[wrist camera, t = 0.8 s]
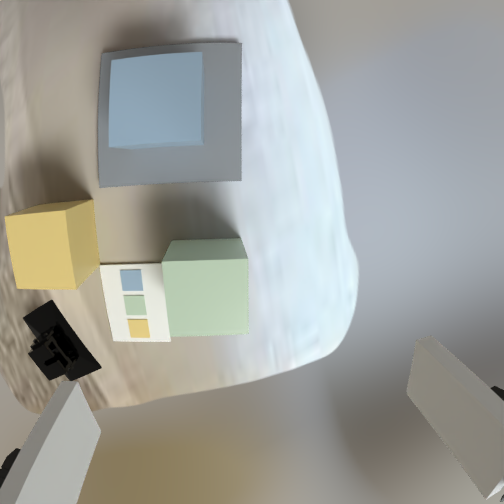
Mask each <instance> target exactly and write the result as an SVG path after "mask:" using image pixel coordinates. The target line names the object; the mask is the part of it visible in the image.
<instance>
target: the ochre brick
mask: <svg viewBox="0 0 504 504" xmlns="http://www.w3.org/2000/svg"><path fill="white" fill-rule="evenodd" d="M5 223H6V231H7V238H8V244H9V250H10V256H11V261H12V266H13V271H14V276H15V280H16V285H17V289H76V290H77V288H78V287H79V286H80V285H81V284H82V283H83V282H84V281H85V280H86V279H87V278H88V277H89V276H90V275H91V274H92V273H93V272H94V271H95V269H96V268H97V267H98V266H99V265H100V259H99V252H98V244H97V235H96V225H95V214H94V202H93V199H91V200H79V201H68V202H58V203H48V204H39V205H36V206H33V207H30V208H27V209H24V210H21V211H19V212H16V213H13V214H10V215H7V216H5Z"/></svg>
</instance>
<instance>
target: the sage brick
mask: <svg viewBox="0 0 504 504" xmlns="http://www.w3.org/2000/svg"><path fill="white" fill-rule="evenodd" d="M162 270H163V281H164V290H165V300H166V308H167V317H168V325H169V332H170V337H174V336H213V335H236V334H249V324H248V257H247V254H246V251H245V248H244V245H243V243H242V240H241V238H230V239H198V240H172V241H171V243H170V245H169V247H168V250H167V252H166V254H165V256H164V258H163V260H162Z"/></svg>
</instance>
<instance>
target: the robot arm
mask: <svg viewBox="0 0 504 504" xmlns="http://www.w3.org/2000/svg"><path fill="white" fill-rule="evenodd" d="M406 393H407V395H408V396H409V397H410V398H411V400H412V401H413V402H414V404H415V405H416V406H417V408H418V409H419V410H420V411H421V413H422V414H423V415H424V417H425V418H426V419H427V421H428V422H429V423H430V424H431V426H432V427H433V428H434V430H435V431H436V432H437V434H438V435H439V436H440V438H441V439H442V440H443V442H444V443H445V444H446V446H447V447H448V448H449V450H450V451H451V452H452V454H453V455H454V456H455V458H456V459H457V461H458V462H459V463H460V465H461V466H462V467H463V469H464V470H465V471H466V473H467V474H468V476H469V477H470V478H471V480H472V481H473V482H474V484H475V485H476V486H477V488H478V489H479V491H480V492H481V494H482V495H483V497H484V498H485V499H488V498H489V497H491V496H492V495H494V494H495V493H497V492H498V491H500V490H501V489H502V488H503V487H504V390H502V389H500V388H498V387H496V386H494V387H492V388H489V387H488V386H487V385H486V384H485V383H484V382H483V381H482V380H481V379H479V378H478V377H477V376H476V375H475V374H474V373H473V372H472V371H471V370H469V369H468V368H467V367H466V366H465V365H464V364H463V363H462V362H461V361H460V360H458V359H457V358H456V357H455V356H454V355H453V354H452V353H450V352H449V351H448V350H447V349H446V348H445V347H444V346H442V345H441V344H440V343H439V342H438V341H437V340H436V339H435V338H433V337H432V336H428V337H425V338H421V339H418V340H416V344H415V350H414V356H413V361H412V367H411V372H410V377H409V382H408V386H407V391H406ZM100 433H101V430H100V428H99V426H98V424H97V422H96V420H95V418H94V416H93V414H92V412H91V410H90V408H89V406H88V404H87V401H86V399H85V397H84V395H83V393H82V390H81V388H80V386H79V383H78V382H76V381H62V382H61V383H60V385H59V386H58V388H57V390H56V391H55V393H54V394H53V396H52V398H51V399H50V401H49V402H48V404H47V406H46V407H45V409H44V411H43V412H42V414H41V416H40V417H39V419H38V421H37V422H36V424H35V426H34V427H33V429H32V431H31V433H30V435H29V436H28V438H27V440H26V442H25V443H24V445H23V447H22V449H18V448H16V449H15V450H14V451H13V452H11V453H10V454H9V455H8V456H7V457H6V459H5V461H4V463H3V465H2V466H1V467H2V469H0V504H77V500H78V497H79V494H80V491H81V488H82V485H83V482H84V479H85V476H86V473H87V470H88V467H89V464H90V461H91V458H92V455H93V453H94V449H95V447H96V444H97V442H98V439H99V436H100ZM503 501H504V495H503V496H502V498H501V501H500V502H503Z"/></svg>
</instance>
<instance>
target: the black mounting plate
mask: <svg viewBox="0 0 504 504" xmlns="http://www.w3.org/2000/svg"><path fill="white" fill-rule="evenodd" d="M23 319H24V321H25V322H26V324H27V325H28V326H29V328H30V329H31V331H32V332H33V334H34V335H35V336H36V338H37V339H34V340H33V344H32V345H31V346H30V347H31V350H30V352H29V353H28V354H29V356H30V357H31V358H32V360H33V361H34V362H35V363H36V365H37V366H38V367H39V368H40V370H41V371H42V372H43V373H44V375H45V376H46V377H47V378H48V379H49V381H50V380H52V379H55V378H57V377H59V376H62V375H64V374H65V375H66V377H67V378H68V379H69V380H70V381H73V380H75V379H78V378H80V377H82V376H85V375H87V374H89V373H92V372H94V371H96V370H98V369H101V368H102V367H101V366H100V364H99V363H98V362H97V361H96V359H95V358H94V357H93V356H92V354H91V353H90V352H89V351H88V349H87V348H86V347H85V345H84V344H83V343H82V341H81V340H80V339H79V337H78V336H77V335H76V333H75V332H74V331H73V329H72V328H71V326H70V325H69V324H68V322H67V321H66V319H65V318H64V316H63V315H62V313H61V312H60V311H59V309H58V308H57V306H56V305H55V303H54V302H53V300H50V301H48V302H47V303H45V304H44V305H42V306H40V307H39V308H37V309H36V310H34V311H32V312H31V313H29V314H28V315H26V316H25V317H23Z"/></svg>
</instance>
